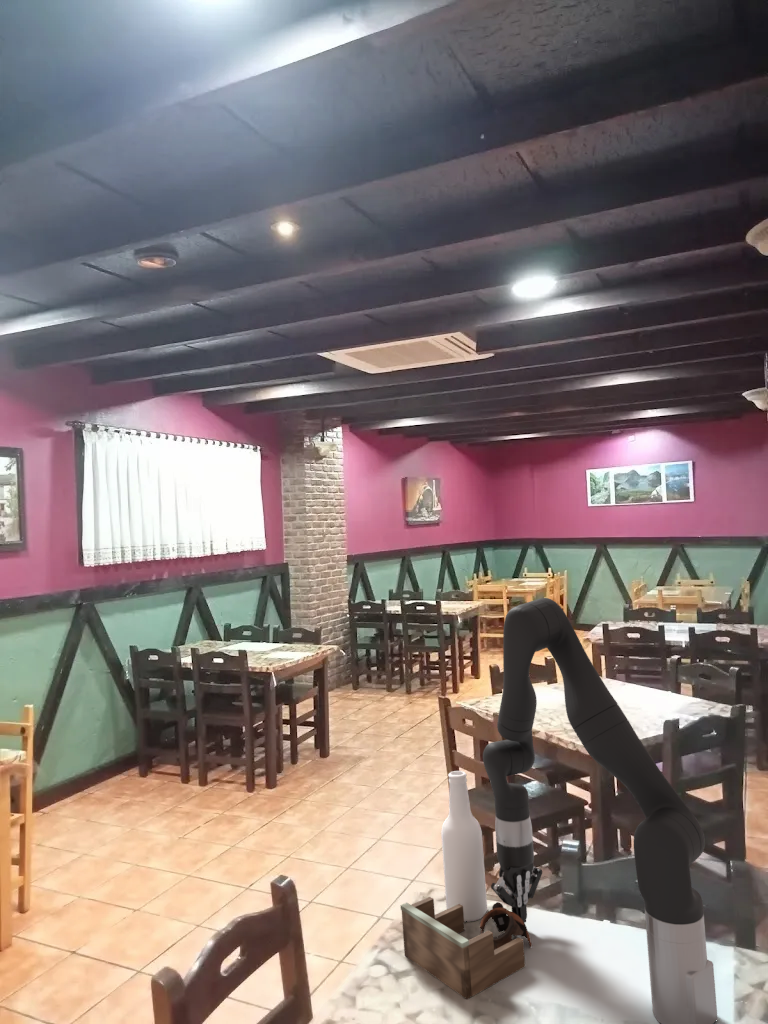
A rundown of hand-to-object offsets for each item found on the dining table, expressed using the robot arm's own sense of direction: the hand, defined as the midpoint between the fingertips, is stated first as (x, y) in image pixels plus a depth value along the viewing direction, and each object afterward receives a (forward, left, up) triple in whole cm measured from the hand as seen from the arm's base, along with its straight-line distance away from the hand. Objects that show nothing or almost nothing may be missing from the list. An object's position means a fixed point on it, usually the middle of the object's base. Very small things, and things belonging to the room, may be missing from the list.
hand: (520, 921), depth 152 cm
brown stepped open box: (0, +16, -2) cm, 16 cm away
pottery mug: (-2, +6, -2) cm, 7 cm away
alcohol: (+13, +3, -2) cm, 13 cm away
